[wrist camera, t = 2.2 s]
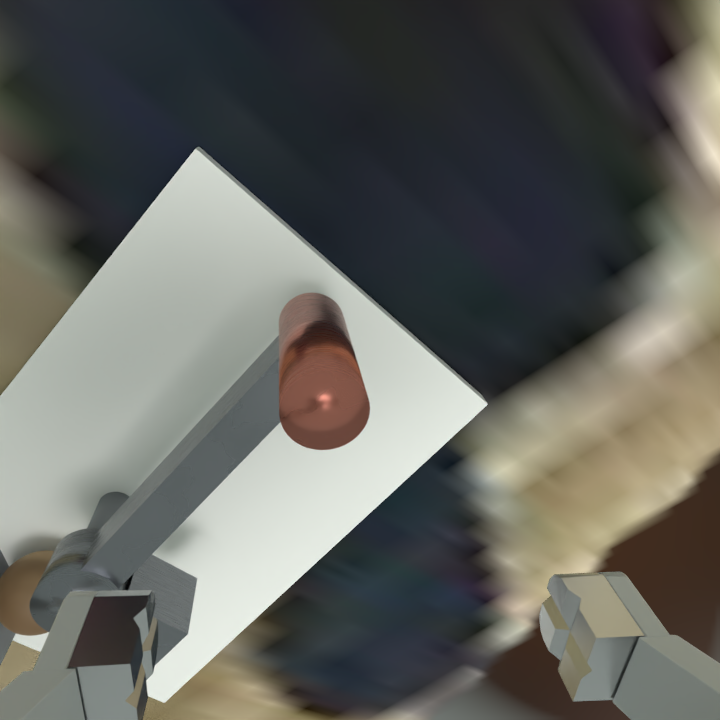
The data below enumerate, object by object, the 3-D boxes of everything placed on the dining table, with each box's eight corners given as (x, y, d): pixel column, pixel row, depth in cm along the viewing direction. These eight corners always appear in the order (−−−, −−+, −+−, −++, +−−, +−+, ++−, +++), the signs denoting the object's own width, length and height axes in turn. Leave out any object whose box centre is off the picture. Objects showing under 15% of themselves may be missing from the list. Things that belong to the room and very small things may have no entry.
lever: (159, 615, 32) (125, 766, 25) (41, 558, 29) (-37, 710, 22) (412, 366, 27) (460, 463, 20) (300, 271, 24) (309, 343, 17)
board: (167, 687, 42) (146, 795, 35) (-129, 561, 34) (-227, 671, 27) (481, 394, 34) (528, 463, 28) (198, 146, 26) (173, 161, 20)
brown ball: (67, 600, 35) (40, 664, 31) (-1, 568, 34) (-39, 632, 30) (108, 556, 34) (86, 617, 30) (40, 521, 33) (6, 581, 29)
